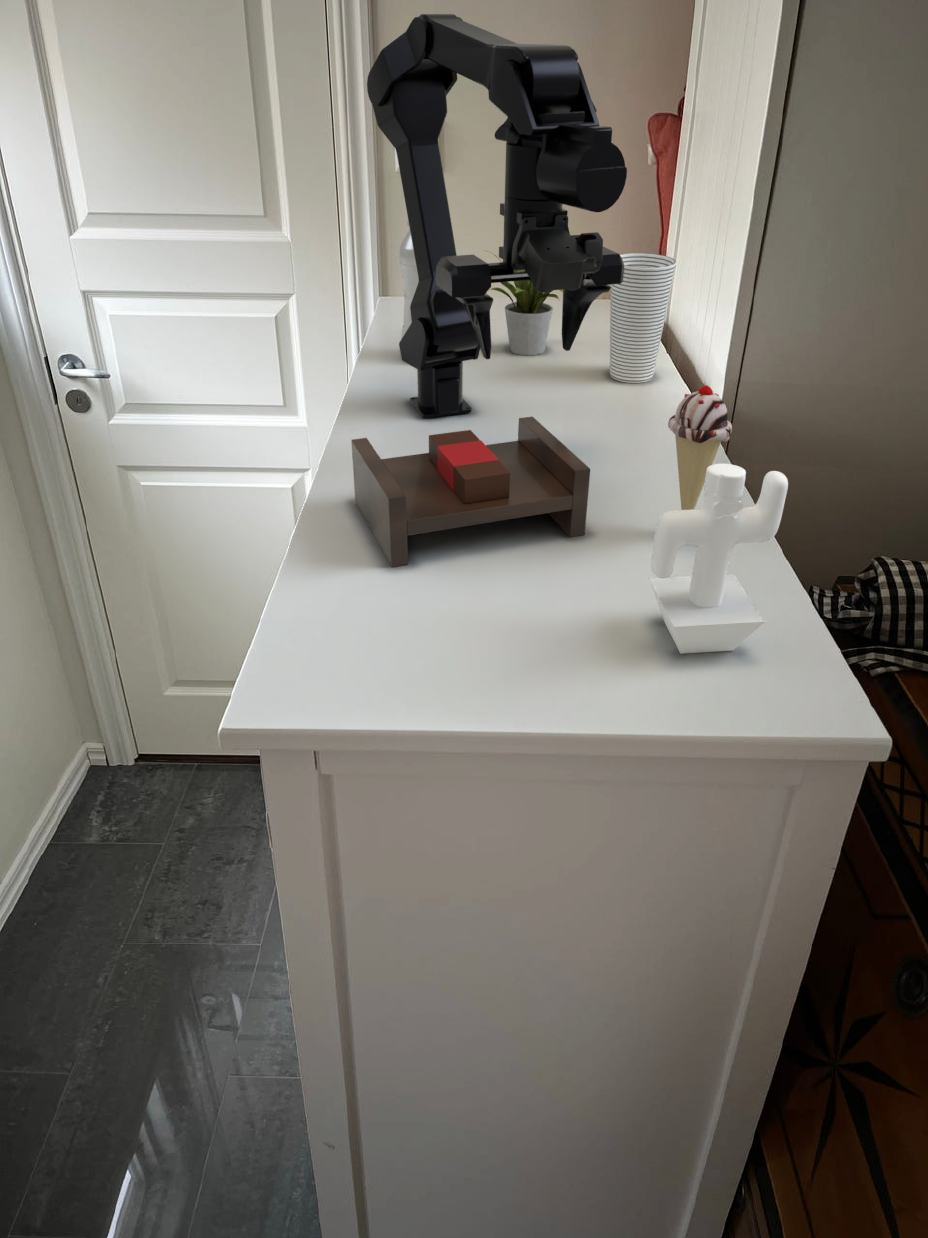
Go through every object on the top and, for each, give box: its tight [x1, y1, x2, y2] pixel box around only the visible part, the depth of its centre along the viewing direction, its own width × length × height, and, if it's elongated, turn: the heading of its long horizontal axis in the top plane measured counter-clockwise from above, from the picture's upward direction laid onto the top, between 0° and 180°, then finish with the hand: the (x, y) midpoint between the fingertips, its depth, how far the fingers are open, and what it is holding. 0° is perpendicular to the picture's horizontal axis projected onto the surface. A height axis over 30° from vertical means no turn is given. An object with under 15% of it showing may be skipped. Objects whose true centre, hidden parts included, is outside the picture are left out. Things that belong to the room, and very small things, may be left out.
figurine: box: [648, 463, 789, 655], centre depth 72 cm, size 7×9×15 cm
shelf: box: [350, 416, 591, 568], centre depth 92 cm, size 14×20×7 cm
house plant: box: [483, 249, 563, 356], centre depth 135 cm, size 14×14×16 cm
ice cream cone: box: [667, 384, 733, 510], centre depth 87 cm, size 6×6×15 cm
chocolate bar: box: [428, 429, 510, 504], centre depth 90 cm, size 11×5×3 cm, turn 19°
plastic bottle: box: [398, 220, 419, 340], centre depth 130 cm, size 6×7×20 cm
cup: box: [609, 252, 678, 384], centre depth 125 cm, size 8×8×16 cm
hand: (527, 353), depth 99 cm, fingers open, 9 cm apart
